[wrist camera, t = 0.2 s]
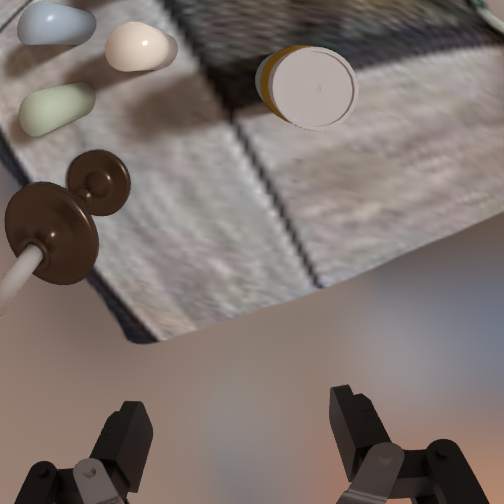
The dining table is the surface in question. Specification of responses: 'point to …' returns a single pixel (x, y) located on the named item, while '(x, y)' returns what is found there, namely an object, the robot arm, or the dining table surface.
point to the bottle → (308, 86)
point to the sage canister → (55, 107)
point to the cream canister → (140, 48)
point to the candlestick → (62, 223)
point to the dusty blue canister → (55, 25)
